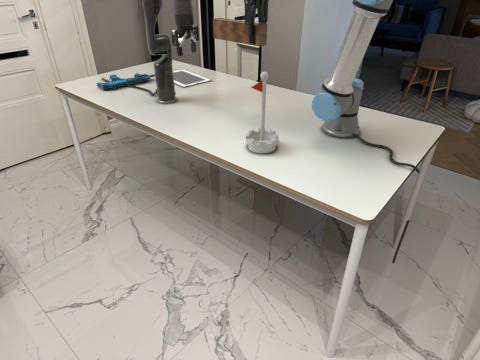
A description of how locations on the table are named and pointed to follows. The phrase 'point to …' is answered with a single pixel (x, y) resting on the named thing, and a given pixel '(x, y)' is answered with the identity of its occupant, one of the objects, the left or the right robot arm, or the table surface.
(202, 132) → the table surface
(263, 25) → the bar
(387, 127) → the table surface
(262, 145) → the flag stand
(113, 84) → the submachine gun
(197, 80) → the tablet
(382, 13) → the right robot arm
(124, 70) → the table surface
